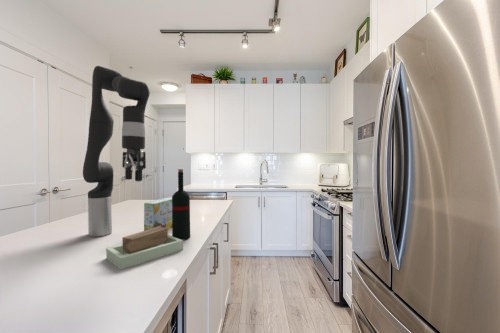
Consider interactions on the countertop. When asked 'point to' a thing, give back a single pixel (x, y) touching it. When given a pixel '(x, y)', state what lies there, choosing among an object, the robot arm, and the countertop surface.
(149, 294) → the countertop surface
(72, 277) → the countertop surface
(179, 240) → the pale green tray
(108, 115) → the robot arm
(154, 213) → the snack box
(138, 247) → the walnut plank
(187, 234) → the wine bottle
